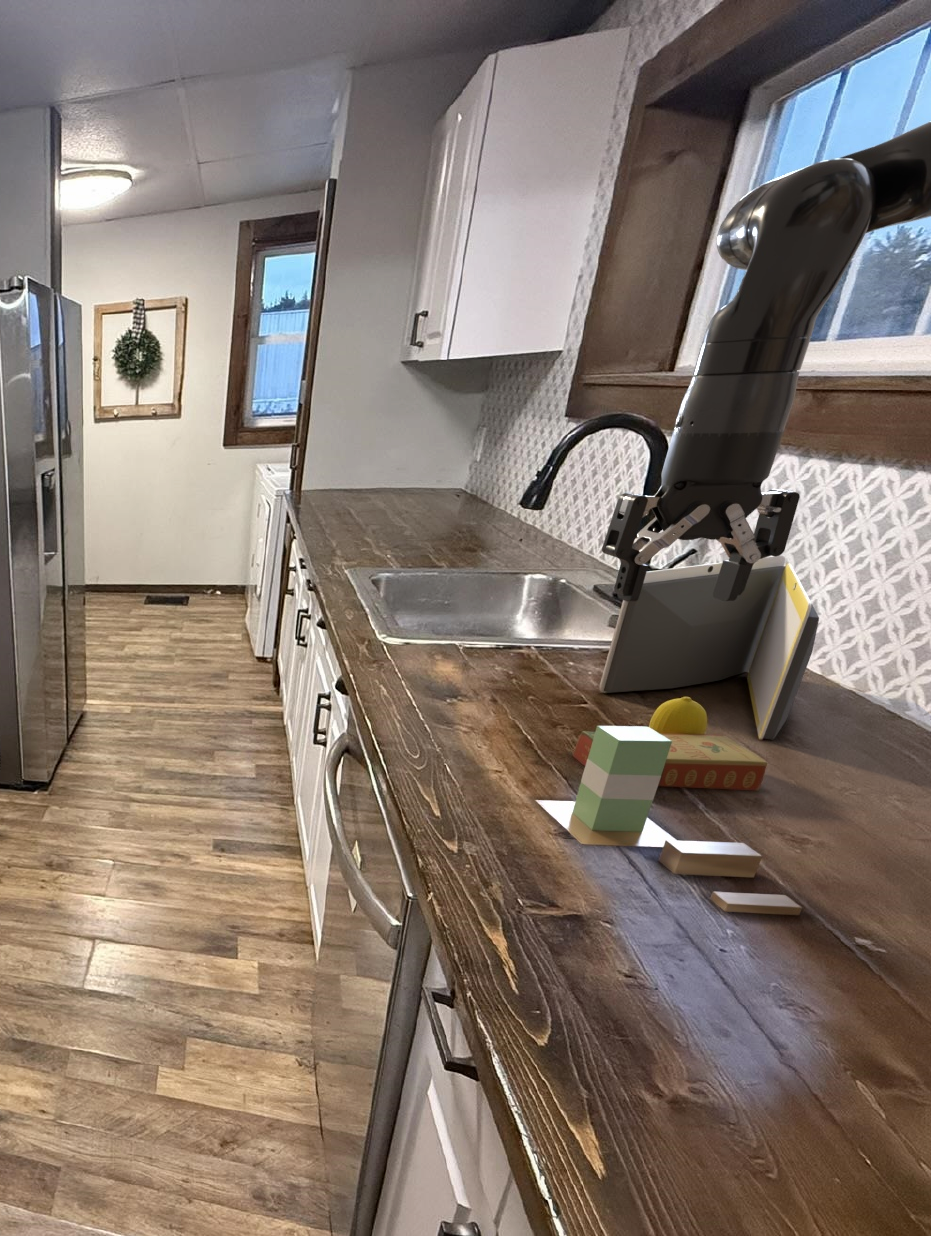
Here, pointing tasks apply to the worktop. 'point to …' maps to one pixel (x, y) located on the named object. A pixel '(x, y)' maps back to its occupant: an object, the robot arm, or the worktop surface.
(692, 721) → the lemon
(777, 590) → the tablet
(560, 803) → the coaster
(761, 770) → the carton
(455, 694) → the worktop surface
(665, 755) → the packet
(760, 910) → the wooden bars
